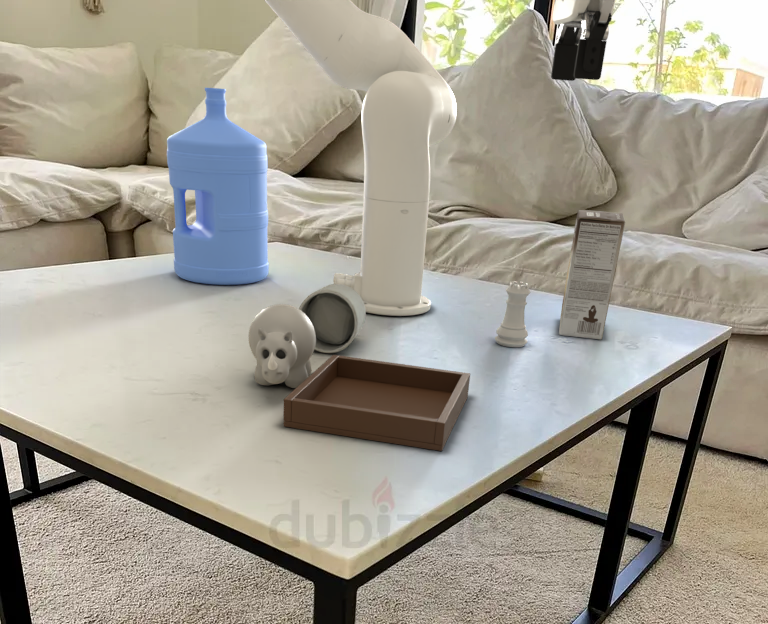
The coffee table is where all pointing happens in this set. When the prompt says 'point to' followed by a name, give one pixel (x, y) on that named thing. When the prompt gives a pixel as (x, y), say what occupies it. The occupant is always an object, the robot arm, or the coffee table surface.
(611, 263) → the coffee box
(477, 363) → the coffee table surface
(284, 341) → the round bodied animal figurine
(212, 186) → the water jug
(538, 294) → the coffee table surface
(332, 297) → the ceramic mug
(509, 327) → the rook chess piece
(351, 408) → the tray
